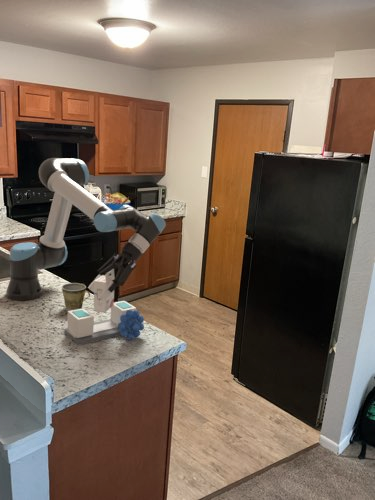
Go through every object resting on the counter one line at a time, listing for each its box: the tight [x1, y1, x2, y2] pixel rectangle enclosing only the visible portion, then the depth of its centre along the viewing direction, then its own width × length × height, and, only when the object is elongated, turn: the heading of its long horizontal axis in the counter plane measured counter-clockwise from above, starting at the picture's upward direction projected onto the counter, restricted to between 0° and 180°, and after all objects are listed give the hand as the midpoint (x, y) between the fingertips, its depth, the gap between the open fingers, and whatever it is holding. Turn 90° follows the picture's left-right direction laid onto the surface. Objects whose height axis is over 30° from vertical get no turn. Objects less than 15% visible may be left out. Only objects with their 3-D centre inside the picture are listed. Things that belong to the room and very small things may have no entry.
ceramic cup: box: [61, 282, 91, 312], centre depth 179 cm, size 13×10×10 cm
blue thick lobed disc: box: [118, 309, 145, 341], centre depth 154 cm, size 12×7×12 cm, turn 133°
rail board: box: [63, 300, 137, 346], centre depth 160 cm, size 12×25×9 cm, turn 129°
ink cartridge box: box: [93, 269, 115, 313], centre depth 157 cm, size 9×5×15 cm, turn 168°
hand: (96, 293), depth 155 cm, fingers closed on ink cartridge box, 9 cm apart
